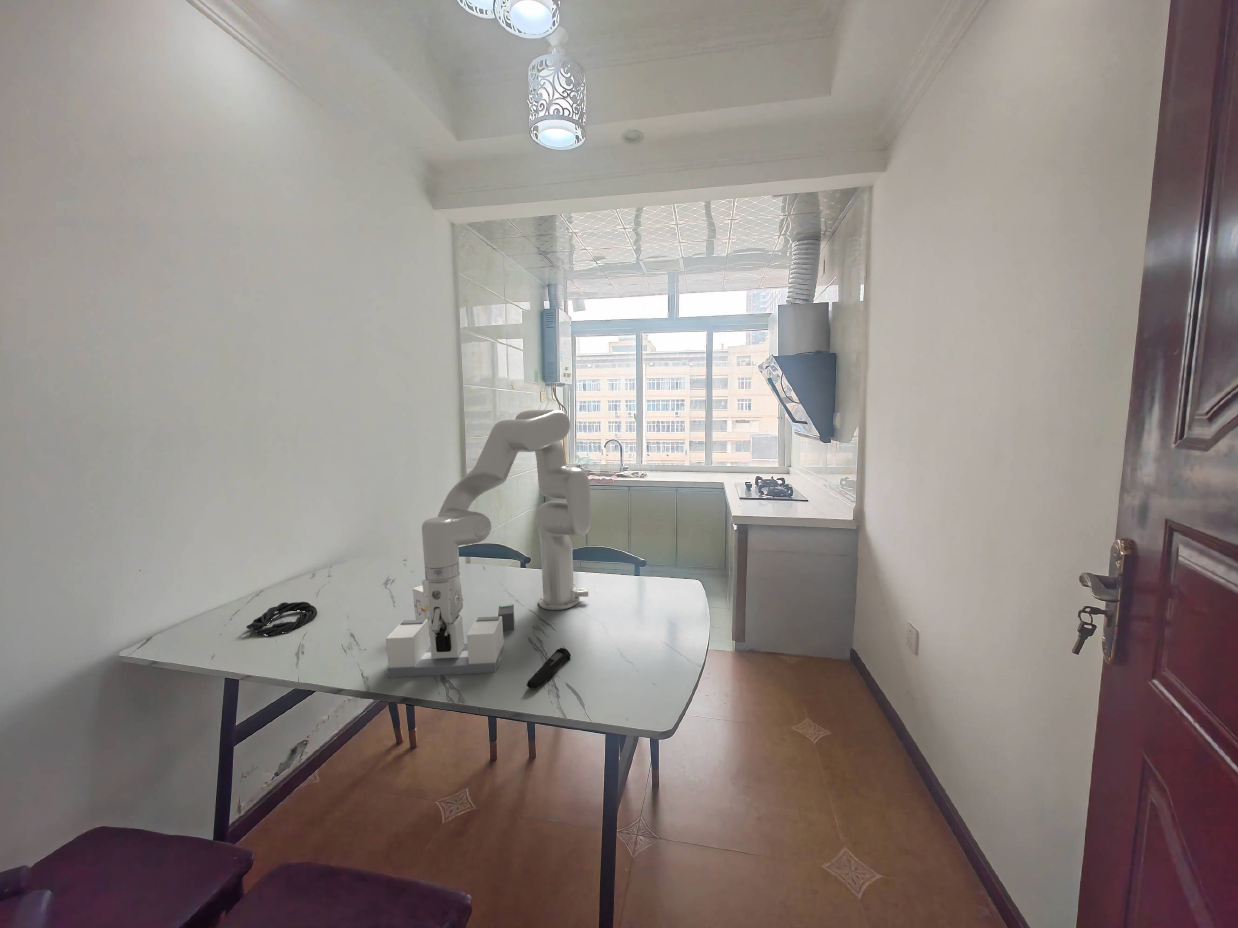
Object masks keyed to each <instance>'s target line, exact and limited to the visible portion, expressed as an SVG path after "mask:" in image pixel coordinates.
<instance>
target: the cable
mask: <svg viewBox="0 0 1238 928" xmlns="http://www.w3.org/2000/svg"><path fill="white" fill-rule="evenodd" d="M297 610H300V611H305V612H299V616H297V617H296V619H295V621H285V622H278V623H273V624H272V625H267V624H268V623H269V622H271V621H272V620H273V619H275V620H277V619H279V617H280V616H282V615H283V614H286V613H289V612H291V611H297ZM317 616H318V610H317V608H316V607H315V606H314V605H313V604H311V603H309V602H307V601H300V602H297V601H294V602H280V603H279V604H278V605H276V606H272V607H270V608H268V609H267V610H266V611H265V612H263V614H262V615H260V616H258V617H257V618H255V619H253V621H252V623H250V624H247V626H246V629H247V630H251V629H253V630H252V631H254V632H256V633H257V632H258V634H259V635H263V634H266V635H270V636H273V634H275V635H278V634H277V633H282V632H287V633H289V632H291V631H293V630H294V628H295V629H297V627H298V628H299V627H302V626H303V625H304V624H307V623H309V622H308V621H310V622H311V621H313V620H314V619H315V618H316V617H317ZM271 619H272V620H271ZM273 621H274V620H273ZM273 621H272V622H273ZM272 622H271V623H272ZM306 622H307V623H306Z"/></svg>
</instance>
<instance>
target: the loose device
mask: <svg viewBox="0 0 1238 928" xmlns="http://www.w3.org/2000/svg"><path fill="white" fill-rule="evenodd" d="M514 605H515V604H513V603H507V604H506V603H505V604H500V605H499V606H498V613H497V616H502V624H503V633H504V632H510V631H511V632H512V631H515V608H514V607H515V606H514Z"/></svg>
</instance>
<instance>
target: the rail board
mask: <svg viewBox="0 0 1238 928" xmlns="http://www.w3.org/2000/svg"><path fill="white" fill-rule="evenodd" d="M385 644H386V653H387V665H388V667H387V677H388V678H402V677H403V678H404V677H406V678H407V677H424V676H441V675H442V676H444V675H445V676H446V675H447V676H448V675H464V674H465V675H466V674H486V673H487V674H488V673H496V671H497V669H498V666H499V664H500V662H501V659H502V656H503V654H504V652H505V642H504V632H503V624H502V616H498V615H495V616H479V617H477V618H476V619H475V620H474V622H473V623H472V625H471V627H470V629H469V630H468V632H467V634H466V643H464V647H463V649H462V651H461V653H460V654H459V656H458V657H451V658H431V645H430V632H429V626H428V619H426V620H416V619H411V620H409V619H407V620H406V619H405V620H402V621H400V623H399V624H398V625H397V626H396V627H395V628H394V630H392V631H391V633H390V634H389V635H388V636H387V637H386V638H385Z"/></svg>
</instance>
